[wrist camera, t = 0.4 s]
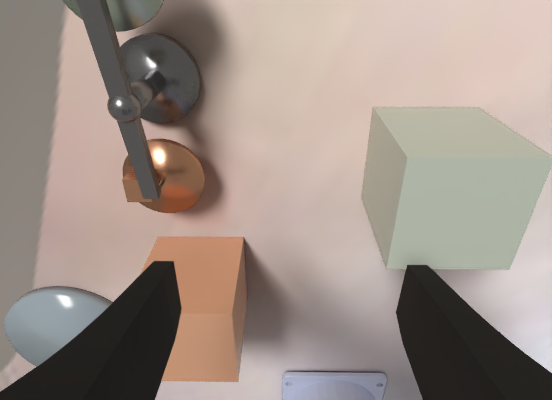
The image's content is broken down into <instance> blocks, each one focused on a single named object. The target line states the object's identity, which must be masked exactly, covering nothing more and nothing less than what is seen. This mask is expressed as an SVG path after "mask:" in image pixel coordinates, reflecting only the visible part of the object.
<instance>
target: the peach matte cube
mask: <svg viewBox="0 0 552 400" xmlns="http://www.w3.org/2000/svg"><path fill="white" fill-rule="evenodd" d="M153 261H174V266H175V272H176V278H177V283H178V289H179V295H180V301H181V307H182V310H181V315H180V320H179V325H178V329H177V334H176V338H175V342H174V345H173V348H172V351H171V354H170V357H169V360H168V363H167V366H166V368H165V371H164V374H163V377H162V380H161V381H205V382H238V380H239V371H240V362H241V353H242V344H243V335H244V326H245V317H246V308H247V285H246V269H245V253H244V237H158V238H157V241H156V243H155V245H154V247H153V249H152V251H151V253H150V255H149V257H148V259H147V261H146V263H145V266H144V268H143V270H142V272H143V271H144V270H145V269H146V268H147V267H148V266H149V265H150V264H151V263H152V262H153ZM142 272H141V273H142ZM140 275H141V274H140Z"/></svg>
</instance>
